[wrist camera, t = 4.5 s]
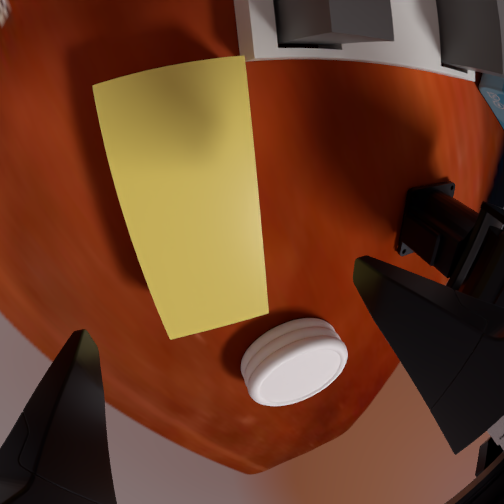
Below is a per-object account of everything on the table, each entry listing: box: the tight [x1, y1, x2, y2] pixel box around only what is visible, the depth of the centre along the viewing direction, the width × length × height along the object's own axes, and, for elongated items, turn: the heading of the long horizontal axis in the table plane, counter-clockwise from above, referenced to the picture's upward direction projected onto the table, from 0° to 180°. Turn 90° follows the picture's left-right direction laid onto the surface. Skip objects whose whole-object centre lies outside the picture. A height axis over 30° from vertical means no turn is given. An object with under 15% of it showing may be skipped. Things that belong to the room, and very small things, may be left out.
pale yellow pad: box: [92, 56, 269, 340], centre depth 15 cm, size 6×14×4 cm, turn 7°
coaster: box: [241, 318, 348, 406], centre depth 27 cm, size 10×10×4 cm
